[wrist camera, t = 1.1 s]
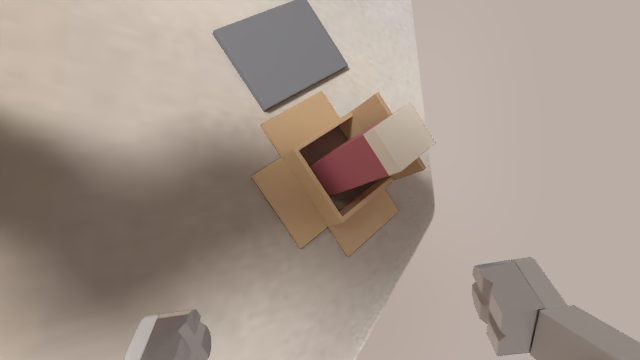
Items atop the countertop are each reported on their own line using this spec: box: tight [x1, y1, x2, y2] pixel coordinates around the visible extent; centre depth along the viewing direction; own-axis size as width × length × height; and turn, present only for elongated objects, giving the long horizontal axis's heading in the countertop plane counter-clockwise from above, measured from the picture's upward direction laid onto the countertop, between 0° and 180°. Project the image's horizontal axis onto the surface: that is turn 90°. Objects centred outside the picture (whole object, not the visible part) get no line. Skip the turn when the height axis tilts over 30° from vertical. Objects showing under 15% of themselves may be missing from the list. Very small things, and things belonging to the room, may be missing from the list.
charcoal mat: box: [213, 0, 348, 111], centre depth 52 cm, size 12×16×1 cm
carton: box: [251, 91, 426, 257], centre depth 46 cm, size 21×16×10 cm
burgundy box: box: [309, 103, 436, 197], centre depth 45 cm, size 5×6×16 cm
